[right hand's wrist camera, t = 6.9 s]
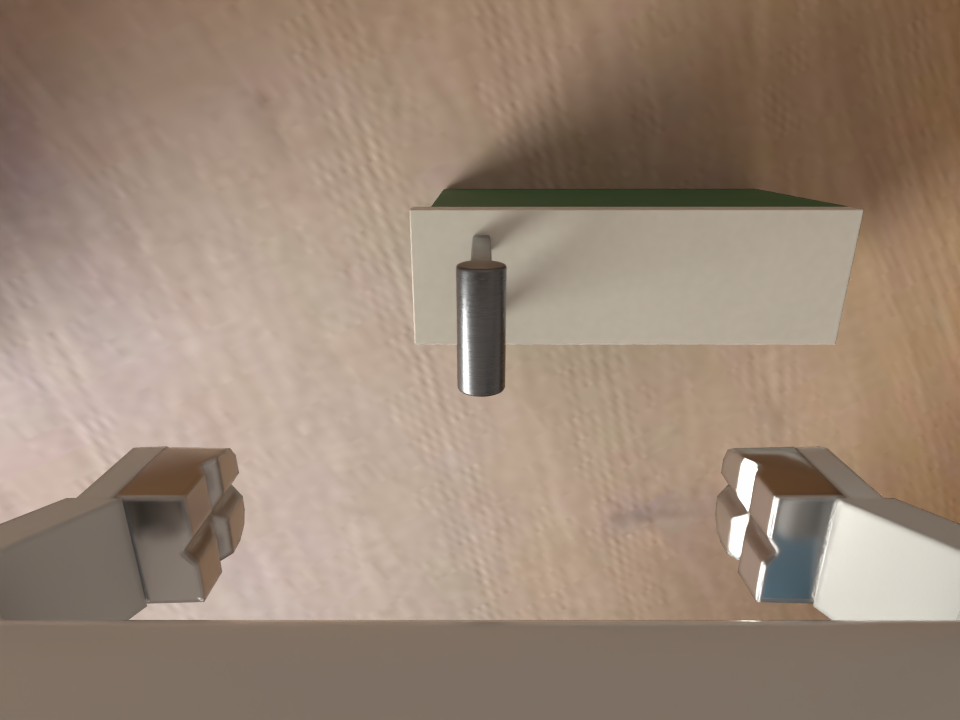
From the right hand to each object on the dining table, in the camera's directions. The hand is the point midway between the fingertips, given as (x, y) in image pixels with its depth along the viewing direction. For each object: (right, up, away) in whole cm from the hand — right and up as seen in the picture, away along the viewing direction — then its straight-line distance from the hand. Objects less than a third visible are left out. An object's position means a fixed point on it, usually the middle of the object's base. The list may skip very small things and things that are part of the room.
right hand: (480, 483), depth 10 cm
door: (+6, +6, +15) cm, 17 cm away
